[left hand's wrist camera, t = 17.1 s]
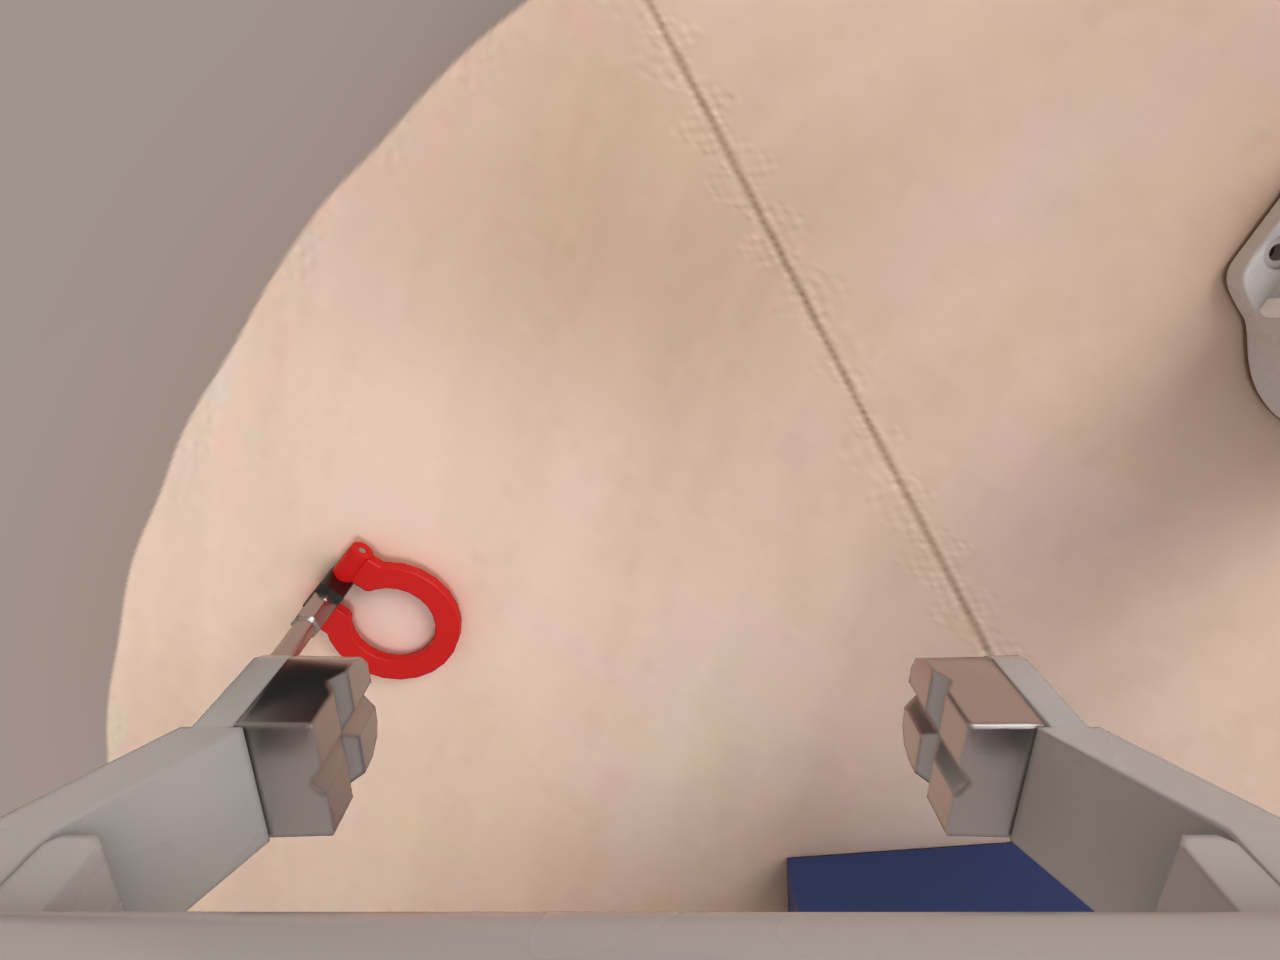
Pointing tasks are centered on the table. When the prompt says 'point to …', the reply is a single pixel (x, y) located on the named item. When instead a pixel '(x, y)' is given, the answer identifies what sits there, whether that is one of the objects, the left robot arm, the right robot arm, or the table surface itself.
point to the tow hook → (338, 619)
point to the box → (928, 882)
